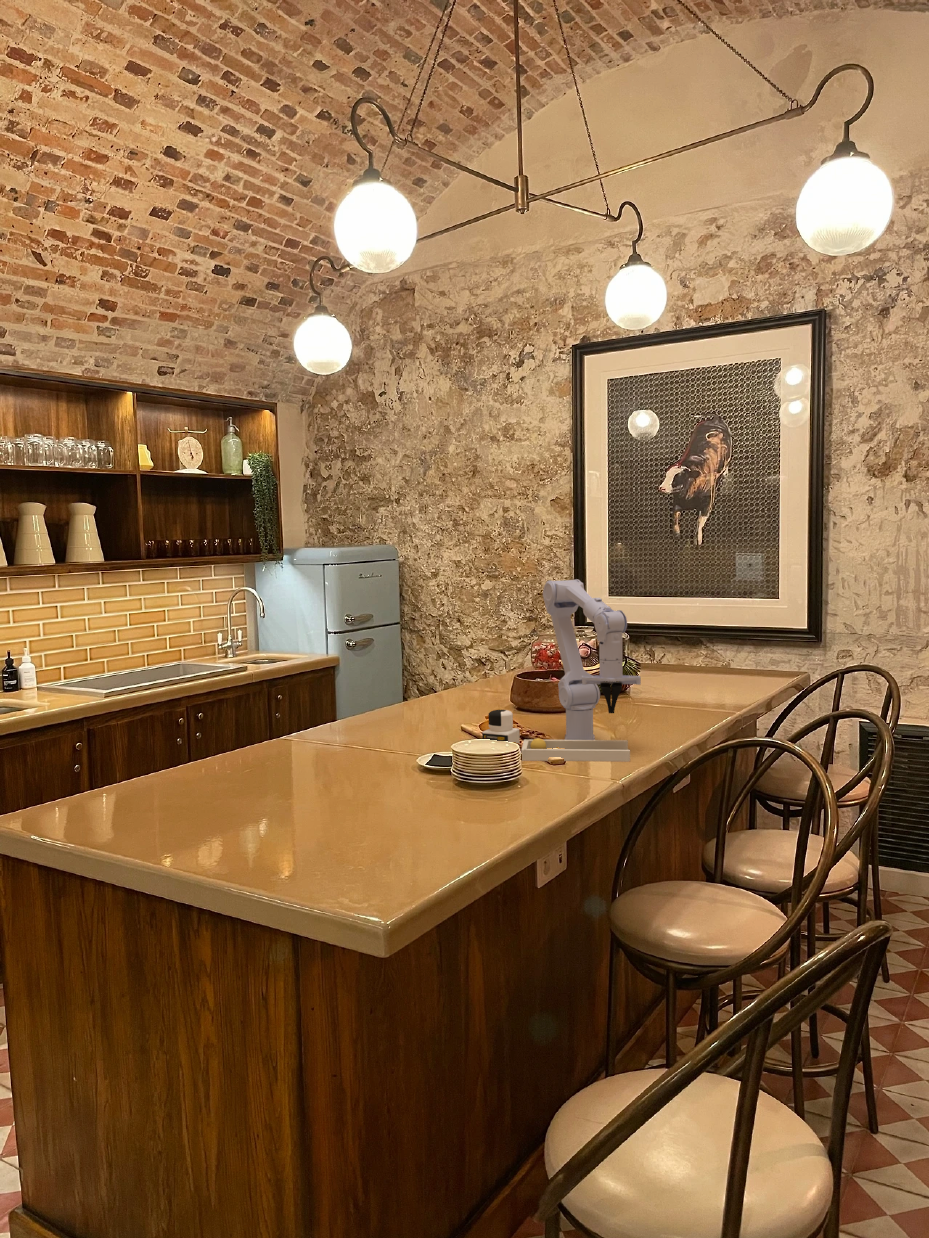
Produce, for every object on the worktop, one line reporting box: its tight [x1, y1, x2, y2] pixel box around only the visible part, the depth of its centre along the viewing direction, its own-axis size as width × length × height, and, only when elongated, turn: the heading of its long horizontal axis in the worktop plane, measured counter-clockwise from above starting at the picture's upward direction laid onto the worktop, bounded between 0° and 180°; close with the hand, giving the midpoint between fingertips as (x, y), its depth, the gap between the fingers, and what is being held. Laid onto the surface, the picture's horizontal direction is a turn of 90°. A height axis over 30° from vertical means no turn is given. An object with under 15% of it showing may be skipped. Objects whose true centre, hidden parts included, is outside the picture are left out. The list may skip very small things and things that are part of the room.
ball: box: [530, 737, 546, 749], centre depth 239 cm, size 4×4×4 cm
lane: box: [520, 739, 631, 763], centre depth 237 cm, size 12×26×3 cm, turn 83°
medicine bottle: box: [481, 709, 521, 744], centre depth 237 cm, size 7×7×12 cm
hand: (611, 712), depth 239 cm, fingers closed
